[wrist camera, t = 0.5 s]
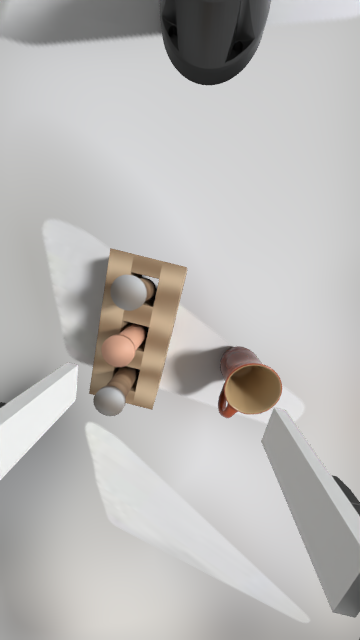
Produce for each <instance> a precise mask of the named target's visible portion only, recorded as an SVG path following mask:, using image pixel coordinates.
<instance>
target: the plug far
mask: <svg viewBox="0 0 360 640" xmlns="http://www.w3.org/2000/svg"><path fill="white" fill-rule="evenodd" d="M137 376H138V370H137V369H136V368H132V367H128V366H124V367H121V368H120V369H119V370H118V371H117V373H116V374H115V375H114V376H113V378H112V379H111V380H110V381H109V383H108V384H107V385H106V386H104V387H102V388H101V389H100V390H99V391H98V392H97V393H96V394H95V396H94V405H95V407H96V409H97V410H98V411H99V412H100V413H101V414H103V415H106V416H115V415H117V414H119V413H120V412H121V411H122V409H123V408H124V406H125V403H126V399H125V398H126V396H127V395H128V393H129V391H130V389H131V387H132V386H133V384H134V382H135V380H136V378H137Z"/></svg>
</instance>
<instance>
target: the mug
mask: <svg viewBox="0 0 360 640" xmlns="http://www.w3.org/2000/svg"><path fill="white" fill-rule="evenodd" d="M220 368H221V373H222V375H223V378H224V380H225V383H224V385H223V388H222V391H221V393H220V396H219V400H218V409H219V413H220V414H221V415H222V416H223V417H225V418H230V417H232V416H233V415H234V414H235V413H236V412H238V411H239V412H241V413H244V414H259V413H262V412H265V411H267V410H269V409H270V408H272V407H273V406H274V405H275V404H276V403H277V402H278V400H279V398H280V396H281V393H282V383H281V380H280V378H279V376H278V375H277V373H276V372H275V371H274V370H273V369H271V368H270V367H268V366H266V365H263V364H262V363H261V362H260V360H259V359H258V358H257V356H256V355H255V354H254V353H253V352H252V351H250V350H249V349H247V348H244V347H233V348H230V349H228V350H227V351H226V352H225V353H224V354H223V356H222V358H221V364H220ZM226 400H227V402H228V405H227V407H226Z"/></svg>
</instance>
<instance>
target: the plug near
mask: <svg viewBox="0 0 360 640" xmlns="http://www.w3.org/2000/svg"><path fill="white" fill-rule="evenodd" d="M110 292H111V298H112V300H113V302H114V303H115V304H116V305H117V306H118V307H119V308H121V309H123V310H127V311H132V310H135V309H137V308H139V307H141V306H142V305H143V304H144V302H145V301H147V300H149V299H151V298H152V297H153V296H154V295H155V292H156V287H155V284H154V283H153V282H152V281H151V280H150V279H147V278H138V277H136V276H134V275H122V276H119V277H118V278H116V279H115V280H114V282H113V283H112V286H111V291H110Z"/></svg>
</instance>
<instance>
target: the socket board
mask: <svg viewBox="0 0 360 640" xmlns="http://www.w3.org/2000/svg"><path fill="white" fill-rule="evenodd" d="M186 273H187V268H186V267H183V266H179V265H175V264H171V263H167V262H163V261H159V260H155V259H151V258H147V257H143V256H139V255H135V254H131V253H127V252H123V251H119V250H115V249H111V248H110V255H109V262H108V269H107V276H106V282H105V289H104V296H103V303H102V310H101V316H100V323H99V330H98V337H97V344H96V351H95V357H94V364H93V371H92V378H91V385H90V392H89V393H90V394H93V395H95V394H96V393H97V392H98V391H99V390H100V389H101V388H102V387H104V386H106V385H107V384H108V383H109V381H110V380H111V379H112V378H113V376H114V375H115V374H116V373H117V371H118V370H119V369H120V368H121V367H115V366H112V365H110V364H108V363H107V362H106V361H105V359H104V358H103V356H102V352H101V348H102V345H103V343H104V341H105V340H106V339H108V338H109V337H110V336H112V335H116V334H119V333H121V332H122V331H123V330H125V329H126V328H127V327H129V326H130V325H131V324H133V323H135V324H139V325H143V326H147V327H149V330H148V335H147V338H145V339H144V341H143V342H142V343H141V345H140V346H139V347H138V348H137V350H136V352H135V356H134V358H133V360H132V361H131V362H130V363H129V364H128V365H126V366H128V367H132V368H136V369H139V370H140V372H139V371H138V376H137V378H136V380H135V382H134V384H133V386H132V387H131V389H130V391H129V393H128V395H127V396H126V398H125V399H126V403H129V404H132V405H136V406H140V407H144V408H148V409H152V408H153V404H154V402H155V398H156V395H157V391H158V388H159V384H160V380H161V376H162V372H163V368H164V364H165V360H166V356H167V351H168V347H169V343H170V339H171V335H172V331H173V327H174V323H175V319H176V314H177V310H178V306H179V302H180V298H181V294H182V290H183V286H184V281H185V277H186ZM122 275H134V276H136V277H138V278H142V275H145V276H149V277H153V278H158V279H159V283H158V287H157V292H156V297H155V301H154V300H150V299H149V300H147V301H145V302H144V304H143V305H142V306H141V307H139V308H137V309H135V310H132V311H127V310H123V309H121V308H119V307H118V306H117V305H116V304H115V303H114V302H113V300H112V298H111V292H110V291H111V286H112V283H113V282H114V280H115V279H116V278H118V277H119V276H122Z"/></svg>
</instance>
